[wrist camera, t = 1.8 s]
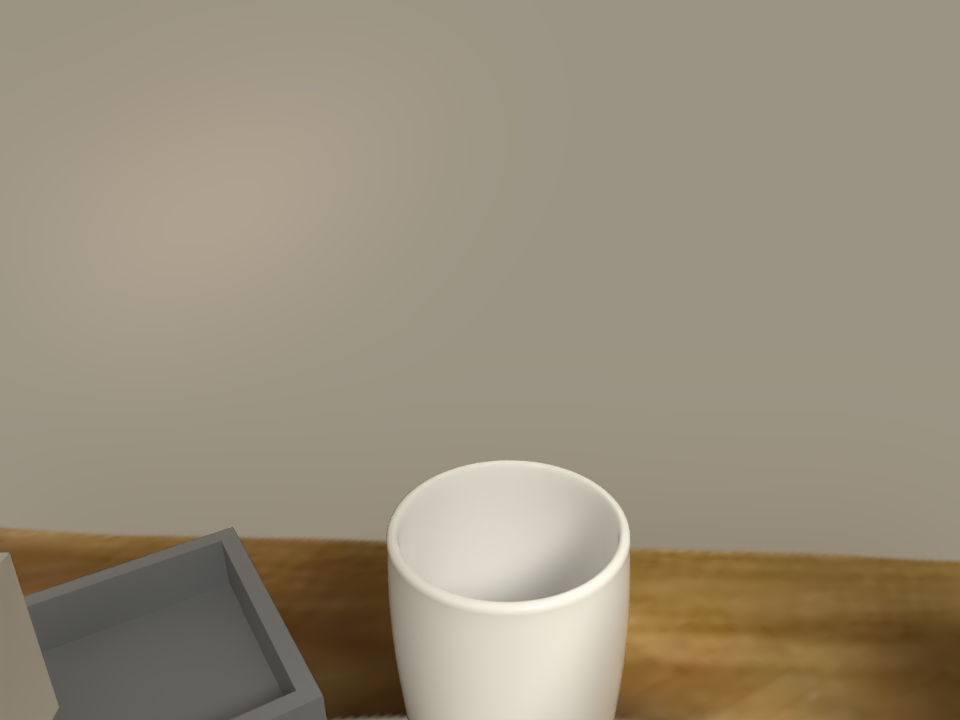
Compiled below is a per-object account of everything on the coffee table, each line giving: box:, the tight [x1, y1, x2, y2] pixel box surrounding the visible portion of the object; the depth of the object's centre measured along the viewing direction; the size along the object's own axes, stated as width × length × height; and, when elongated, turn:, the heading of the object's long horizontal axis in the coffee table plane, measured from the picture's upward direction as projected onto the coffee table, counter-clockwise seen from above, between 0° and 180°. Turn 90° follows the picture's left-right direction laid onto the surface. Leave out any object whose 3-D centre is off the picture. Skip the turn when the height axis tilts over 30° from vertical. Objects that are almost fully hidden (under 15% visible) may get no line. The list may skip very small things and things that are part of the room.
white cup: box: [387, 460, 631, 720], centre depth 26 cm, size 7×7×15 cm
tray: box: [24, 527, 327, 720], centre depth 34 cm, size 13×13×4 cm
